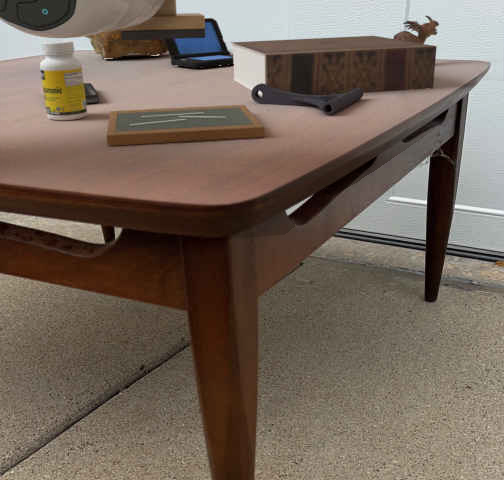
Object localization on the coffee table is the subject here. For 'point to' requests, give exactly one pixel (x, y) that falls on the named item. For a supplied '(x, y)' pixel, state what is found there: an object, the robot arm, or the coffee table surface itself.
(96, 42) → the rough brown rock
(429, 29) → the dragon figurine
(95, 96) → the phone
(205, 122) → the board
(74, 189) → the coffee table surface
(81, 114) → the supplement bottle
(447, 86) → the coffee table surface
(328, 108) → the bracket
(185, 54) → the game console
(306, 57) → the book
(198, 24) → the wooden stamp
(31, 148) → the coffee table surface
